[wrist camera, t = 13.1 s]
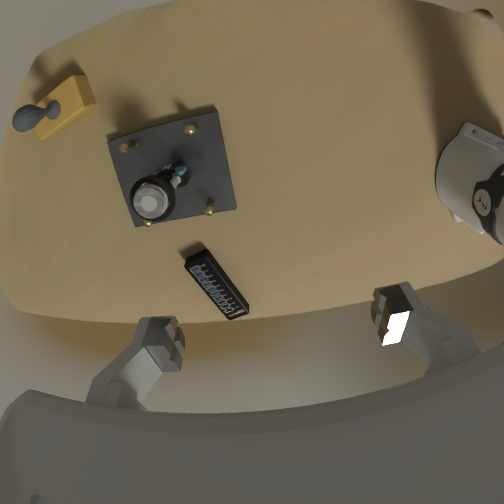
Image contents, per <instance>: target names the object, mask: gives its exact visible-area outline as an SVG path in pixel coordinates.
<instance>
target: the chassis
mask: <svg viewBox="0 0 504 504" xmlns="http://www.w3.org/2000/svg"><path fill="white" fill-rule="evenodd" d="M107 143H108V147H109V150H110V154H111V157H112V160H113V164H114V167H115V170H116V173H117V176H118V180H119V183H120V186H121V189H122V192H123V194H124V197H125V200H126V203H127V206H128V209H129V211H130V214H131V217H132V220H133V222H134V225H135V227H140V226H145V227H149V226H150V225H151V224H155V223H160V222H166V221H171V220H176V219H182V218H187V217H193V216H199V215H207V216H211V215H212V214H213V213H217V212H223V211H229V210H235V209H236V208H237V206H236V201H235V196H234V191H233V186H232V181H231V176H230V171H229V166H228V161H227V156H226V151H225V146H224V140H223V135H222V130H221V125H220V120H219V115H218V111H216V112H211V113H206V114H202V115H197V116H193V117H189V118H184V119H180V120H176V121H172V122H169V123H165V124H161V125H158V126H154V127H151V128H147V129H144V130H141V131H138V132H135V133H131V134H128V135H125V136H122V137H120V138H117V139H114V140H111V141H109V142H107ZM169 164H172V165H171V166H170V169H171V168H176V167H181V166H186V169H187V173H188V178H189V181H188V183H187V184H186V186H183V187H178V188H175V197H176V203H175V207H174V210H173V212H172V213H171V214H170V216H169V217H167V218H166V219H164V220H162V221H158V222H151V221H147V220H144V219H142V218H141V217H139V216H138V215H137V214H136V213H135V212H134V210H133V209H132V207H131V204H130V198H129V197H130V191H131V188H132V186H133V185H134V184H135V183H136V182H137V181H138V180H139V179H141V178H143V177H146V176H149V175H152V174H153V173H154V172H157V171H161V170H162V168H163V167H164V166H165V165H169ZM144 184H145V183H144ZM141 186H143V185H142V184H141ZM141 186H140V187H141ZM169 204H170V200H169V202H168V207H169ZM168 207H167V208H168Z"/></svg>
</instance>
